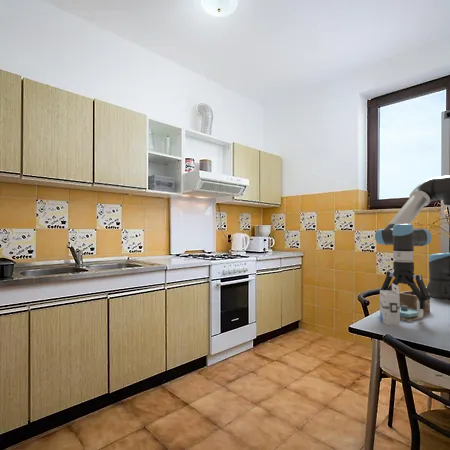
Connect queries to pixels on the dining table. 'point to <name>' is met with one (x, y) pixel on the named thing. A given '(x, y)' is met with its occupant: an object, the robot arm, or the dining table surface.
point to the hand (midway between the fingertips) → (404, 313)
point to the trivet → (410, 318)
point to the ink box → (390, 306)
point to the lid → (407, 312)
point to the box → (412, 300)
